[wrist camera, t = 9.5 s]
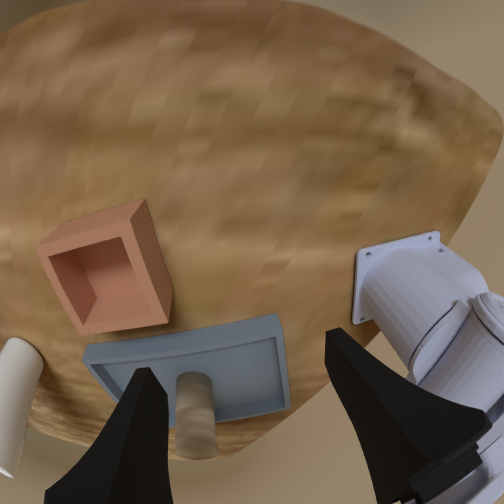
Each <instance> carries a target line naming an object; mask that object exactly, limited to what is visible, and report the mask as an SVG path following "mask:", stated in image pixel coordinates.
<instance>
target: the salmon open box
mask: <svg viewBox="0 0 504 504" xmlns="http://www.w3.org/2000/svg"><path fill="white" fill-rule="evenodd" d="M35 250H36V252H37V254H38V257H39V259H40V261H41V264H42V266H43V268H44V270H45V272H46V274H47V276H48V278H49V280H50V282H51V284H52V286H53V288H54V290H55V292H56V294H57V296H58V298H59V300H60V302H61V303H62V305H63V307H64V309H65V311H66V312H67V314H68V316H69V318H70V319H71V321H72V323H73V324H74V326H75V328H76V329H77V331H78V332H79V334H80V335H87V334H95V333H103V332H111V331H118V330H125V329H132V328H139V327H145V326H152V325H158V324H164V323H169V315H170V308H171V301H172V294H173V286H172V283H171V280H170V277H169V274H168V271H167V268H166V265H165V263H164V260H163V257H162V253H161V250H160V247H159V244H158V241H157V238H156V235H155V231H154V228H153V225H152V221H151V218H150V215H149V211H148V208H147V204H146V201H145V199H142V200H138V201H135V202H131V203H127V204H124V205H120V206H117V207H113V208H110V209H106V210H103V211H100V212H96V213H93V214H90V215H87V216H84V217H81V218H78V219H74V220H71V221H68V222H65V223H63V224H60V225H59V226H58V227H57V228H56V229H55V230H53V231H52V232H51V233H50V234H49V235H48V236H47V237H46V238H45V239H44V240H42V241H41V242H40V243H39V244H38V245H37V246H36V247H35Z"/></svg>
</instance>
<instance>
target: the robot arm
mask: <svg viewBox="0 0 504 504" xmlns="http://www.w3.org/2000/svg"><path fill="white" fill-rule="evenodd" d="M428 238H429V239H428ZM439 240H440V233H439V232H438V231H432V232H428V233H424V234H420V235H416V236H412V237H408V238H404V239H400V240H396V241H392V242H388V243H384V244H380V245H376V246H371V247H367V248H363V249H360V250H359V251H358V252H357V254H356V269H355V286H354V300H353V312H352V322H353V324H355V325H356V324H360V323H363V322H366V321H369V320H372V319H373V320H374V322H375V323H376V324H377V326H378V327H379V329H380V330H381V331H382V333H383V334H384V336H385V337H386V338H387V340H388V341H389V342H390V344H391V345H392V347H393V348H394V350H395V351H396V352H397V354H398V356H399V357H400V358H401V360H402V361H403V363H404V364H405V366H406V367H407V369H408V370H409V374H408V375H407V377H406V378H403V377H401V376H400V375H399V374H397V373H396V372H394V371H393V370H391V369H390V368H388V367H387V366H386V365H384V364H383V363H382V362H380V361H379V360H378V359H376V358H375V357H374V356H373V355H371V354H370V353H369V352H368V351H366V350H365V349H364V348H363V347H362V346H361V345H360V344H358V343H357V342H356V341H355V340H354V339H353V338H352V337H351V336H350V335H348V334H347V333H346V332H345V331H344V330H343V329H342V328H340V327H339V328H336V329H332V330H329V331H326V340H325V362H324V363H325V366H326V368H327V371H328V374H329V377H330V379H331V382H332V384H333V386H334V388H335V390H336V392H337V394H338V396H339V398H340V400H341V402H342V404H343V406H344V408H345V410H346V412H347V414H348V416H349V418H350V420H351V422H352V424H353V426H354V428H355V431H356V433H357V436H358V439H359V442H360V444H361V447H362V450H363V453H364V456H365V459H366V462H367V466H368V469H369V472H370V476H371V479H372V483H373V487H374V491H375V495H376V500H377V504H393V503H395V502H397V501H399V500H400V502H401V504H493V503H494V502H495V501H496V500H497V499H498V498H499V497H500V496H501V495H502V493H503V492H504V298H503V297H502V296H500V295H498V294H496V293H493V292H489V290H488V287H487V284H486V282H485V280H484V278H483V276H482V275H481V273H480V272H479V271H478V270H477V269H476V268H475V267H473V266H472V265H471V264H469V263H468V262H467V261H465V260H464V259H463V258H461V257H460V256H458V255H457V254H456V253H454V252H453V251H452V250H450V249H449V248H448V247H446V246H445V245H443V244H442V243H440V242H439ZM368 252H369V254H368V255H366V254H367V253H368ZM168 433H169V406H168V394H167V393H166V391H165V390H164V388H163V387H162V385H161V384H160V382H159V381H158V379H157V378H156V376H155V375H154V373H153V371H152V370H151V368H150V367H144V368H136V370H135V372H134V374H133V375H132V377H131V379H130V381H129V383H128V385H127V387H126V389H125V391H124V393H123V395H122V396H121V398H120V400H119V402H118V404H117V406H116V408H115V409H114V411H113V413H112V415H111V416H110V418H109V420H108V421H107V423H106V425H105V426H104V428H103V430H102V431H101V433H100V434H99V436H98V437H97V439H96V440H95V441H94V443H93V444H92V446H91V447H90V448H89V449H88V451H87V452H86V453H85V454H84V455H83V457H82V458H81V459H80V460H79V461H78V463H77V464H76V465H75V466H74V467H73V468H72V469H71V470H70V471H69V472H68V473H67V474H66V475H65V476H63V477H62V478H61V479H60V480H59V481H57V482H56V483H55V484H54V485H52V486H51V487H50V488H49V489H47V490H46V491H45V497H44V504H173V499H172V494H171V488H170V481H169V472H168Z"/></svg>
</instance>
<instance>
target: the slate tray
mask: <svg viewBox="0 0 504 504" xmlns="http://www.w3.org/2000/svg"><path fill="white" fill-rule="evenodd" d="M82 362H83V363H84V364H85V366H86V367H87V368H88V370H89V371H90V372H91V373H92V375H93V376H94V377H95V379H96V380H97V381H98V382H99V384H100V385H101V386H102V387H103V388H104V390H105V391H106V392H107V393H108V394H109V395H110V397H111V398H112V399H113V400H114V401H115V402H116V403H117V404H118V402H119V400H120V398H121V396H122V395H123V393H124V391H125V389H126V387H127V385H128V383H129V381H130V379H131V377H132V375H133V374H134V372H135V370H136V368H144V367H150V368H151V370H152V371H153V373H154V375H155V376H156V378H157V379H158V381H159V382H160V384H161V385H162V387H163V388H164V390H165V391H166V393H167V394H168V406H169V428H171V427H175V408H176V380H177V377H178V376H179V375H180V374H182V373H185V372H191V371H194V372H201V373H204V374H206V375H207V376H209V377H210V379H211V381H212V393H213V406H214V417H215V423H220V422H227V421H233V420H239V419H245V418H250V417H256V416H261V415H265V414H270V413H275V412H279V411H283V410H287V409H291V403H290V393H289V384H288V374H287V365H286V356H285V347H284V339H283V330H282V327H281V324H280V321H279V318H278V316H277V313H275V314H270V315H266V316H261V317H257V318H252V319H248V320H243V321H238V322H233V323H228V324H223V325H218V326H213V327H207V328H202V329H196V330H191V331H185V332H179V333H173V334H166V335H160V336H153V337H146V338H139V339H132V340H124V341H116V342H107V343H98V344H89V345H87V347H86V350H85V352H84V355H83V358H82Z"/></svg>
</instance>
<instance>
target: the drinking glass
mask: <svg viewBox="0 0 504 504" xmlns="http://www.w3.org/2000/svg"><path fill="white" fill-rule="evenodd" d="M43 367H44V364H43V360H42V357H41V356H40V354H39V353H38V351H37V350H36V349H35V348H34V347H33V346H32V345H31V344H29V343H28V342H27V341H25V340H23V339H21V338H17V337H12V338H10V339H8V341H7V342H6V344H5V345H4V347H3V349H2V350H1V352H0V472H1V473H3V474H5V475H7V476H9V477H11V478H15V477H16V473H17V469H18V465H19V462H20V458H21V453H22V449H23V443H24V438H25V433H26V428H27V423H28V418H29V414H30V410H31V405H32V401H33V398H34V394H35V390H36V387H37V384H38V380H39V378H40V375H41V373H42V371H43Z"/></svg>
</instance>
